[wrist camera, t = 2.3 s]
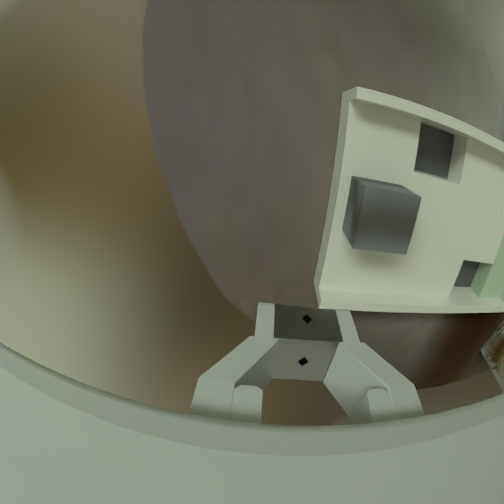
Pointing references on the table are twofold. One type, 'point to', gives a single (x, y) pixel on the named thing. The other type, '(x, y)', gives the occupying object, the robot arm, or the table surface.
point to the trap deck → (429, 215)
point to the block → (380, 215)
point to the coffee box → (496, 354)
